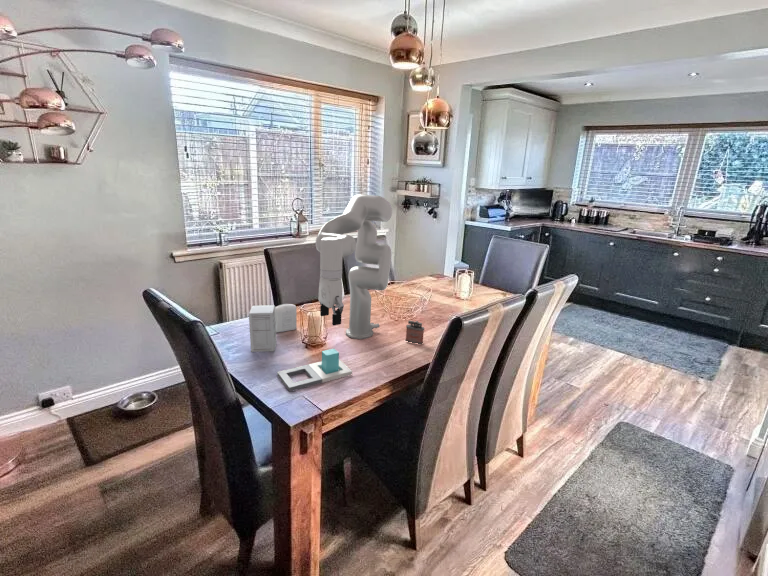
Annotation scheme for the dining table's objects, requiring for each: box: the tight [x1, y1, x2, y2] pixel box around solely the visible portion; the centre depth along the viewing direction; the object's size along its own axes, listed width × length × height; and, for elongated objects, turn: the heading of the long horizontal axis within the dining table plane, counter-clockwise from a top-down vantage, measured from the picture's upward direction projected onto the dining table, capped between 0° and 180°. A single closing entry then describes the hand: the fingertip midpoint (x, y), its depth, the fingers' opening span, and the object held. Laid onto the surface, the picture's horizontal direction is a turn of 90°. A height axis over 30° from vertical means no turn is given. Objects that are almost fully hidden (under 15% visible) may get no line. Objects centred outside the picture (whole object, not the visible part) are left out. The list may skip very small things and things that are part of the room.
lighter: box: [404, 319, 425, 344], centre depth 174 cm, size 8×3×10 cm, turn 71°
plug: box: [321, 348, 340, 374], centre depth 146 cm, size 5×4×8 cm
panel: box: [276, 359, 353, 392], centre depth 144 cm, size 24×12×2 cm, turn 123°
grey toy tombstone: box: [275, 303, 298, 333], centre depth 180 cm, size 10×4×12 cm, turn 123°
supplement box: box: [248, 304, 277, 353], centre depth 161 cm, size 10×9×17 cm
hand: (330, 319), depth 141 cm, fingers open, 9 cm apart
